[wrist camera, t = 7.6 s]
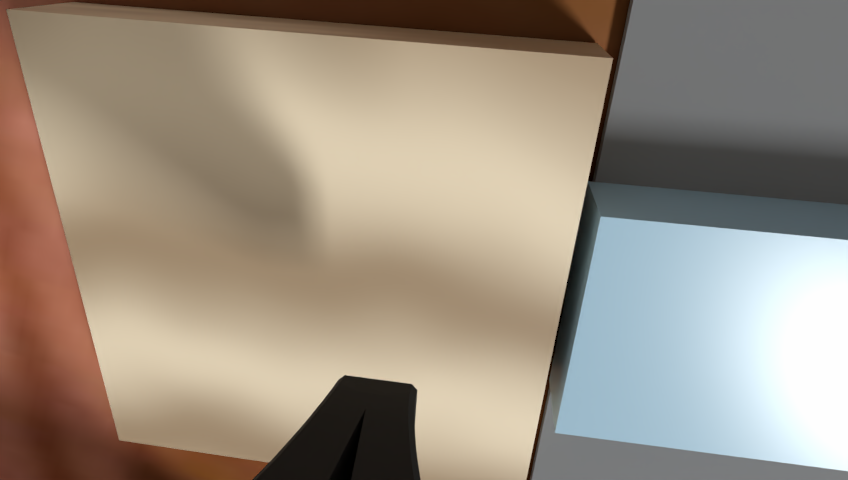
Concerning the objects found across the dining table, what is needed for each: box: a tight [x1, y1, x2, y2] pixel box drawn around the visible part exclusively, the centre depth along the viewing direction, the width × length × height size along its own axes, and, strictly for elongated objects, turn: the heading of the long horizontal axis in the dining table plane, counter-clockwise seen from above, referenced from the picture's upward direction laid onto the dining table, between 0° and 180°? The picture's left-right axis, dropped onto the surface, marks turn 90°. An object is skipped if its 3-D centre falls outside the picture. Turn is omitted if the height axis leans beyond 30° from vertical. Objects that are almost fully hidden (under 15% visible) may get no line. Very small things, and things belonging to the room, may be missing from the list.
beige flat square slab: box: [6, 2, 613, 480], centre depth 14 cm, size 12×12×2 cm
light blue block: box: [549, 181, 848, 471], centre depth 13 cm, size 9×6×2 cm, turn 87°
